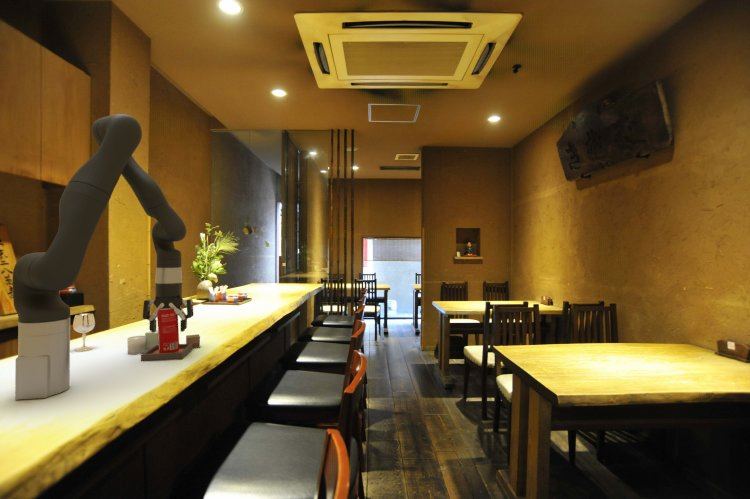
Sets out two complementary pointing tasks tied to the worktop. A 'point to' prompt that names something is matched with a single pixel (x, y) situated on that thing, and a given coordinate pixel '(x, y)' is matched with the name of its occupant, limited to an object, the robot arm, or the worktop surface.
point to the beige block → (136, 345)
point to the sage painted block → (151, 339)
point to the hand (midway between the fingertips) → (168, 331)
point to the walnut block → (193, 340)
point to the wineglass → (84, 326)
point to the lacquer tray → (156, 356)
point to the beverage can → (168, 330)
